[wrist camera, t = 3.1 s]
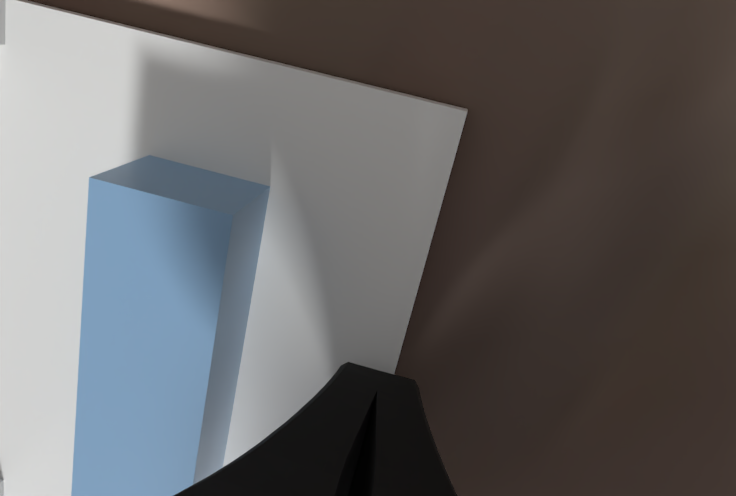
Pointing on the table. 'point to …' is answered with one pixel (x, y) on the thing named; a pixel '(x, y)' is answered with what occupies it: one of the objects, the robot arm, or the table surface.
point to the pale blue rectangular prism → (162, 324)
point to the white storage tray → (221, 155)
